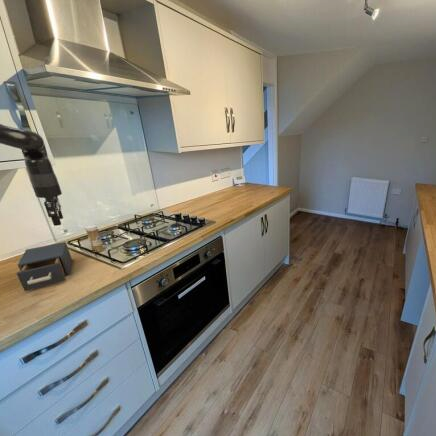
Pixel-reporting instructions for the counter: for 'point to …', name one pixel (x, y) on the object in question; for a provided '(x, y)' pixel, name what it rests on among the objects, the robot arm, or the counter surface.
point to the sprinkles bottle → (94, 238)
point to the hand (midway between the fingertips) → (59, 221)
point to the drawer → (42, 274)
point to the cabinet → (48, 255)
